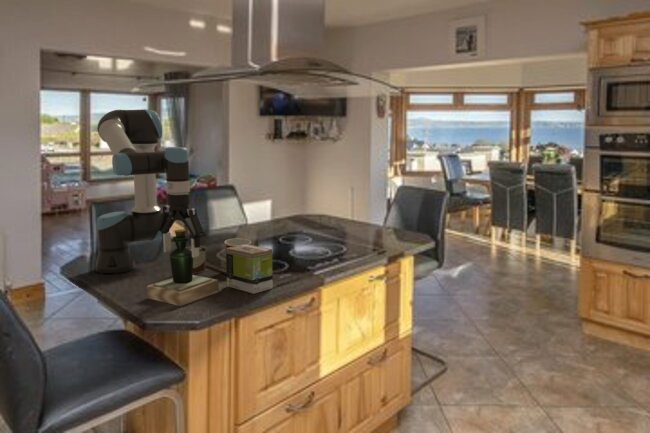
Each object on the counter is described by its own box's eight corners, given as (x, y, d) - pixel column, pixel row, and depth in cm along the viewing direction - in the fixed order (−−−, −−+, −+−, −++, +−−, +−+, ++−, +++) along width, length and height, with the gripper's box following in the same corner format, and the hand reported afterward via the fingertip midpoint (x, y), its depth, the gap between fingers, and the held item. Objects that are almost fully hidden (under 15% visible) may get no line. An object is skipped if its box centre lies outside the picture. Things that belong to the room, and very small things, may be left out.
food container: (198, 267, 229) (197, 244, 227) (207, 270, 225) (206, 246, 223) (173, 274, 219) (172, 249, 217) (182, 276, 215) (181, 251, 214)
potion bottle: (180, 277, 197) (177, 227, 194) (199, 279, 194) (197, 229, 191) (165, 283, 189) (163, 231, 186) (185, 285, 186) (183, 233, 183)
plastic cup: (232, 274, 218) (231, 244, 216) (220, 268, 227) (219, 240, 225) (256, 270, 224) (256, 241, 222) (244, 264, 233) (243, 237, 231)
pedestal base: (147, 298, 189) (146, 284, 188) (186, 285, 204) (185, 272, 203) (180, 306, 180) (179, 291, 180) (218, 291, 196) (218, 278, 195)
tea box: (274, 288, 199) (273, 248, 197) (252, 294, 192) (251, 253, 190) (247, 280, 209) (245, 242, 207) (226, 286, 202) (224, 247, 200)
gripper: (144, 191, 190) (148, 251, 193) (197, 197, 177) (199, 261, 180) (161, 189, 196) (164, 247, 200) (213, 194, 183) (215, 256, 187)
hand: (181, 254), depth 190 cm, fingers open, 13 cm apart
